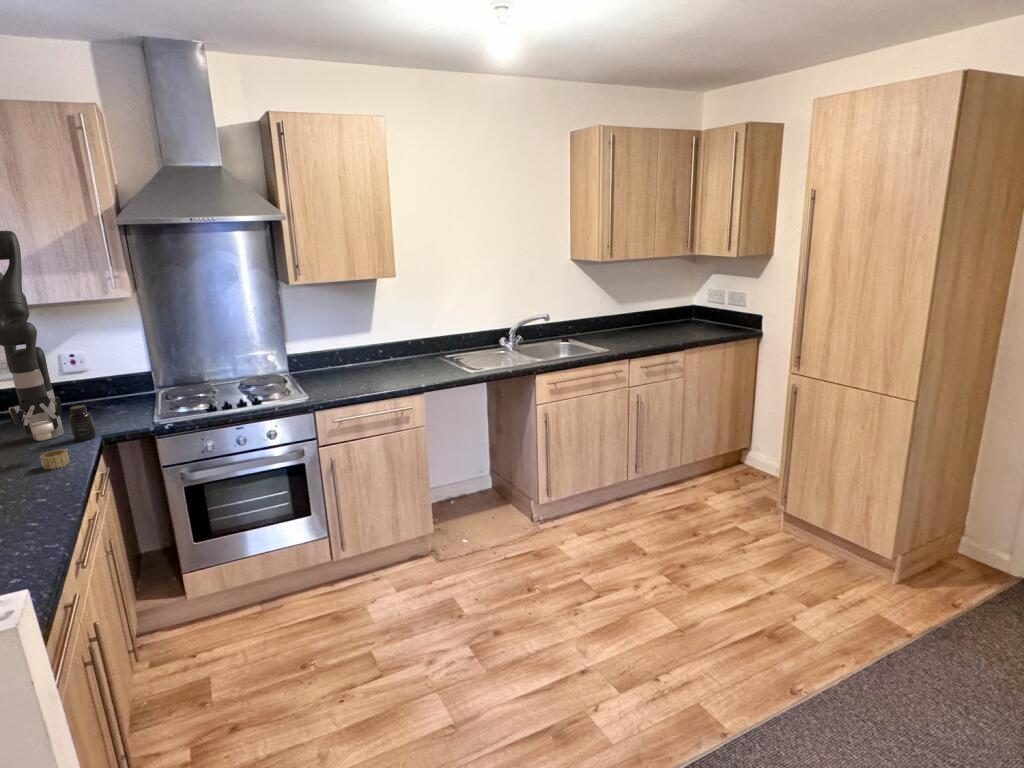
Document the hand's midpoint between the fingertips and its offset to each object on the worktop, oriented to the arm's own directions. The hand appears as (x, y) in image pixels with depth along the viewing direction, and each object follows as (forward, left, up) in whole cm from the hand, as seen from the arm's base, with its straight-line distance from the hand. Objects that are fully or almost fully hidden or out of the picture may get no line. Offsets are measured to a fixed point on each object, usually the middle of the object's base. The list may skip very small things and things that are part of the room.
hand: (42, 431), depth 204 cm
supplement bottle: (-11, +14, -9) cm, 20 cm away
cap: (0, 0, -2) cm, 2 cm away
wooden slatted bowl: (+10, -1, -9) cm, 14 cm away
